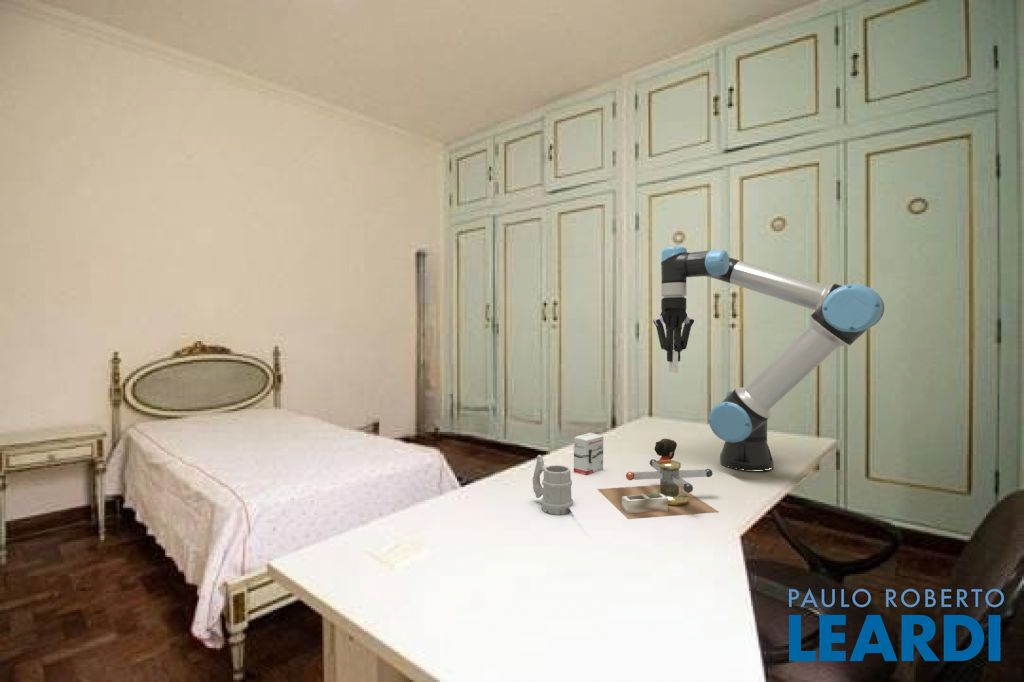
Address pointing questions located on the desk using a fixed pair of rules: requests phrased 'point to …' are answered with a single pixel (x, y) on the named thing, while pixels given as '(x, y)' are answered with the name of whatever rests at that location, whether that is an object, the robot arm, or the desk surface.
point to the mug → (553, 487)
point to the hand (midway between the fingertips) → (673, 372)
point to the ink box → (588, 453)
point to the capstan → (671, 479)
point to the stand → (651, 502)
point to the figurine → (665, 449)
